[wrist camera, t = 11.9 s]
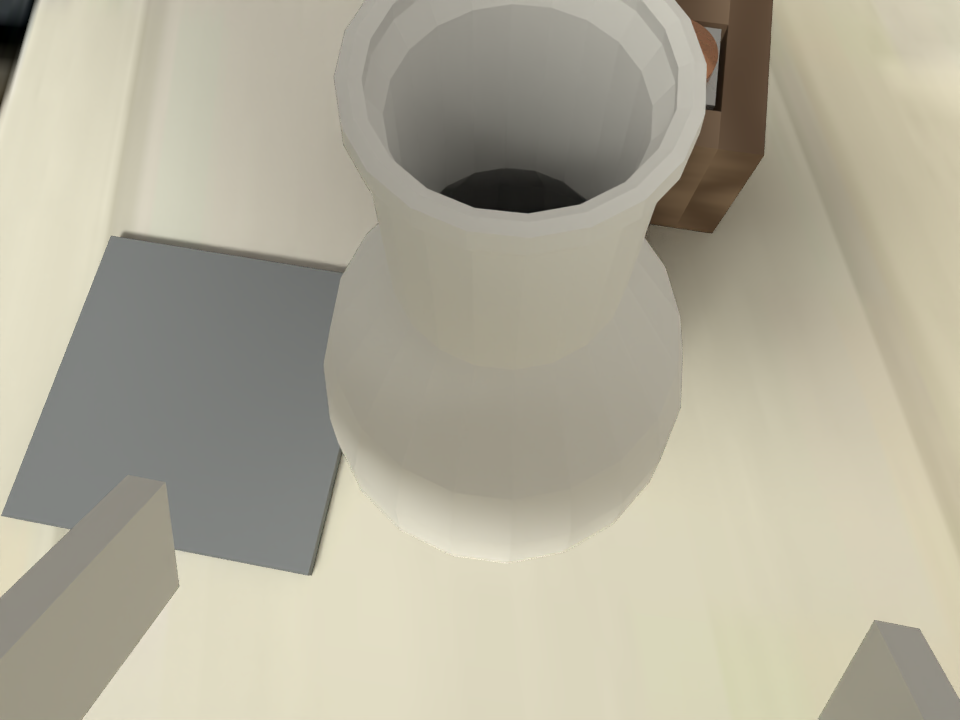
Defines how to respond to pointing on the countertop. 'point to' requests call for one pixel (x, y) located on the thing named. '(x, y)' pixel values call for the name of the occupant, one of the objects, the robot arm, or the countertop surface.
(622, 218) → the bottle
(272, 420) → the mat
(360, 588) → the countertop surface
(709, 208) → the button housing
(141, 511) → the robot arm
